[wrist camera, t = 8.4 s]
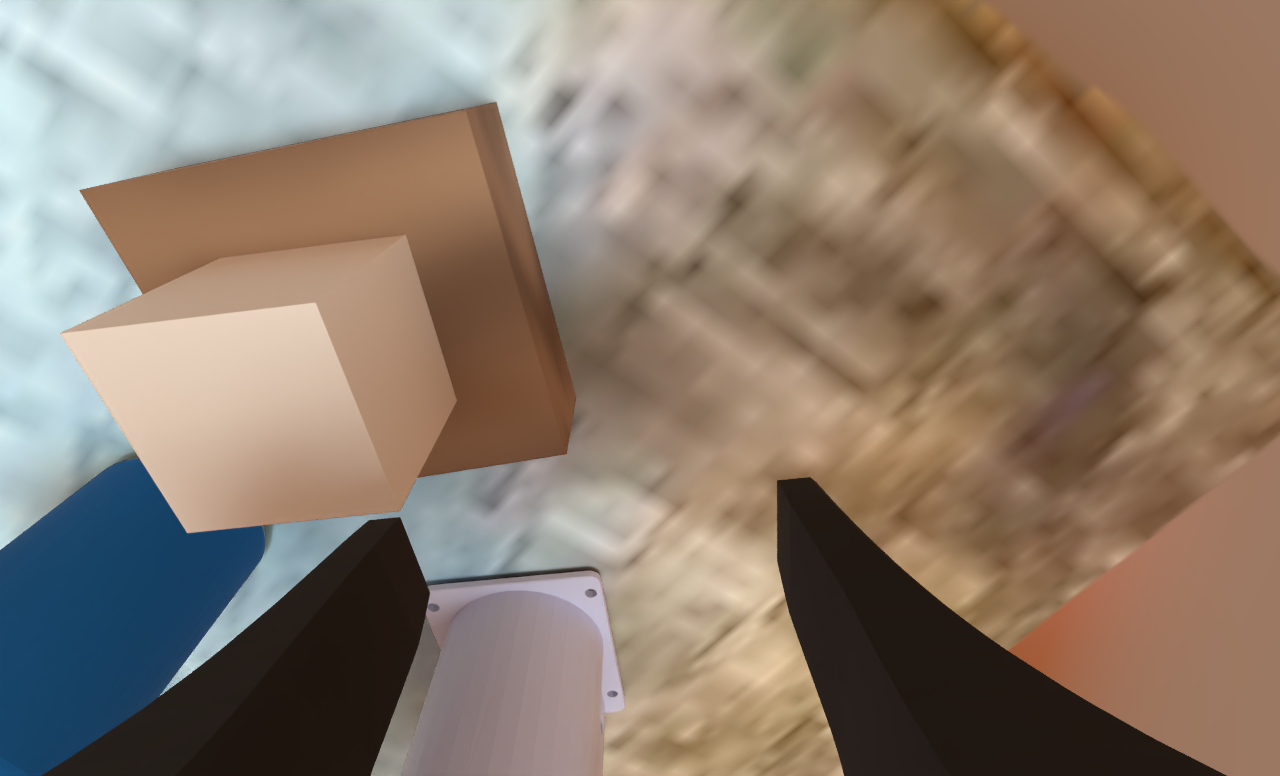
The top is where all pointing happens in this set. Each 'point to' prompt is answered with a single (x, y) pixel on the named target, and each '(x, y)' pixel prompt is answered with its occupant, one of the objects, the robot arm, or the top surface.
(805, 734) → the top surface
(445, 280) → the walnut box
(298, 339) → the cube
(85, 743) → the beverage can
